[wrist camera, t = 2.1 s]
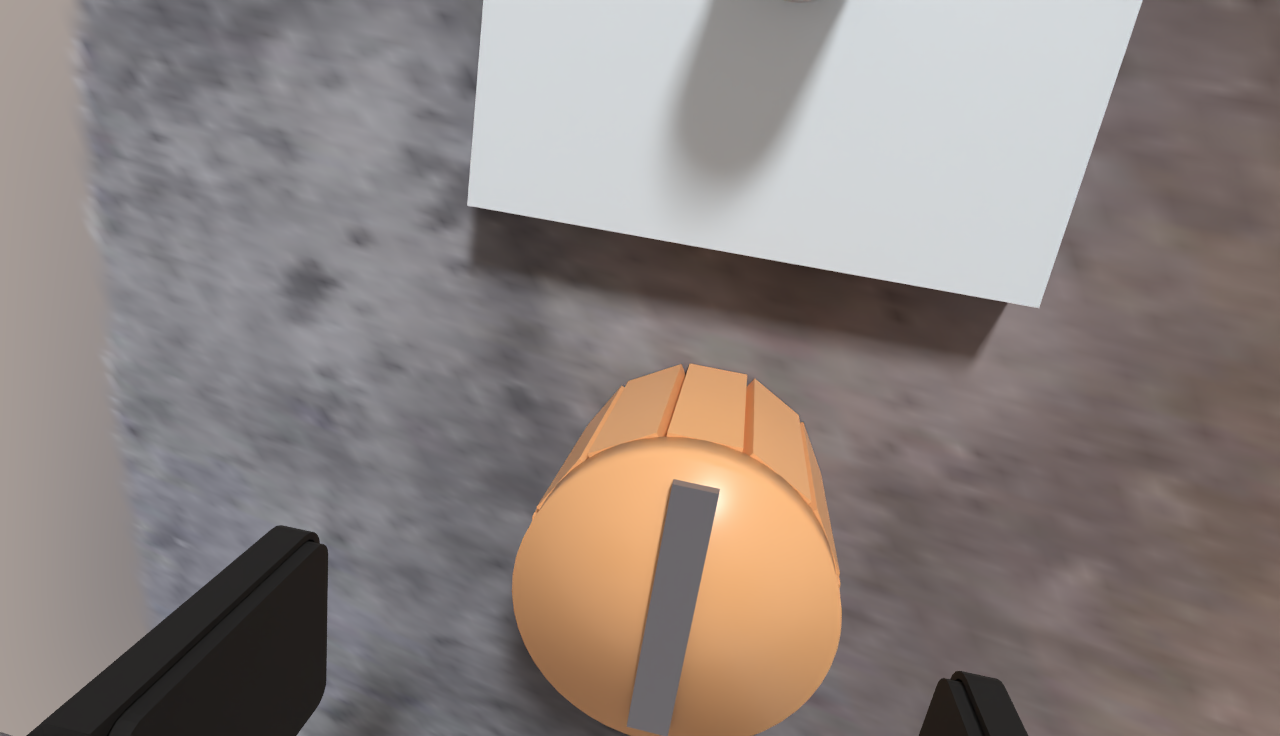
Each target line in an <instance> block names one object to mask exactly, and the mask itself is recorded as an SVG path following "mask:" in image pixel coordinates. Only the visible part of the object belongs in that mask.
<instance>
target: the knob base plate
mask: <svg viewBox="0 0 1280 736" xmlns="http://www.w3.org/2000/svg"><path fill="white" fill-rule="evenodd" d="M1141 3H1142V0H484V1H483V14H482V26H481V39H480V52H479V64H478V77H477V89H476V102H475V115H474V127H473V140H472V152H471V165H470V178H469V190H468V203H467V206H473V207H479V208H484V209H490V210H495V211H501V212H506V213H512V214H518V215H523V216H529V217H534V218H540V219H545V220H551V221H557V222H562V223H568V224H573V225H579V226H584V227H590V228H596V229H601V230H607V231H612V232H618V233H623V234H629V235H635V236H640V237H646V238H651V239H657V240H663V241H668V242H674V243H679V244H685V245H690V246H696V247H702V248H707V249H713V250H718V251H724V252H729V253H735V254H741V255H746V256H752V257H757V258H763V259H768V260H774V261H780V262H785V263H791V264H796V265H802V266H807V267H813V268H819V269H824V270H830V271H835V272H841V273H846V274H852V275H858V276H863V277H869V278H874V279H880V280H886V281H891V282H897V283H902V284H908V285H913V286H919V287H925V288H930V289H936V290H941V291H947V292H952V293H958V294H964V295H969V296H975V297H980V298H986V299H991V300H997V301H1003V302H1008V303H1014V304H1019V305H1025V306H1030V307H1036V308H1039V306H1040V303H1041V300H1042V297H1043V294H1044V291H1045V288H1046V286H1047V283H1048V280H1049V277H1050V274H1051V271H1052V268H1053V265H1054V262H1055V259H1056V256H1057V253H1058V250H1059V247H1060V244H1061V241H1062V238H1063V235H1064V232H1065V229H1066V226H1067V223H1068V220H1069V217H1070V214H1071V211H1072V208H1073V205H1074V202H1075V199H1076V196H1077V193H1078V190H1079V187H1080V185H1081V182H1082V179H1083V176H1084V173H1085V170H1086V167H1087V164H1088V161H1089V158H1090V155H1091V152H1092V149H1093V146H1094V143H1095V140H1096V137H1097V134H1098V131H1099V128H1100V125H1101V122H1102V119H1103V116H1104V113H1105V110H1106V107H1107V104H1108V101H1109V98H1110V95H1111V92H1112V89H1113V87H1114V84H1115V81H1116V78H1117V75H1118V72H1119V69H1120V66H1121V63H1122V60H1123V57H1124V54H1125V51H1126V48H1127V45H1128V42H1129V39H1130V36H1131V33H1132V30H1133V27H1134V24H1135V21H1136V18H1137V15H1138V12H1139V9H1140V6H1141Z"/></svg>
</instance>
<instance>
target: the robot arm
mask: <svg viewBox="0 0 1280 736" xmlns="http://www.w3.org/2000/svg"><path fill="white" fill-rule="evenodd" d="M327 590H328V549H327V547H326V546H325V545H324V544H320V542H319V537H318V535H317V534H316V533H314V532H310V531H305V530H301V529H296V528H291V527H287V526H282V525H281V526H276V527H274V528H273V529H271V530H270V531H269V532H268V533H267V534H265V535H264V536H263V537H262V538H261V539H259V540H258V541H257V542H256V543H255V544H253V545H252V546H251V547H250V548H249V549H248V550H246V551H245V552H244V553H243V554H242V555H240V556H239V557H238V558H237V559H236V560H234V561H233V562H232V563H231V564H230V565H228V566H227V567H226V568H225V569H224V570H223V571H221V572H220V573H219V574H218V575H217V576H215V577H214V578H213V579H212V580H211V581H209V582H208V583H207V584H206V585H205V586H204V587H202V588H201V589H200V590H199V591H198V592H196V593H195V594H194V595H193V596H192V597H190V598H189V599H188V600H187V601H186V602H185V603H183V604H182V605H181V606H180V607H179V608H177V609H176V610H175V611H174V612H173V613H171V614H170V615H169V616H168V617H167V618H165V619H164V620H163V621H162V622H161V623H160V624H158V625H157V626H156V627H155V628H154V629H152V630H151V631H150V632H149V633H148V634H146V635H145V636H144V637H143V638H142V639H141V640H139V641H138V642H137V643H136V644H135V645H134V646H132V647H131V648H130V649H129V650H128V651H126V652H125V653H124V654H123V655H122V656H120V657H119V658H118V659H117V660H116V661H114V662H113V663H112V664H111V665H110V666H109V667H107V668H106V669H105V670H104V671H103V672H101V673H100V674H99V675H98V676H97V677H95V678H94V679H93V680H92V681H91V682H89V683H88V684H87V685H86V686H85V687H83V688H82V689H81V690H80V691H79V692H78V693H76V694H75V695H74V696H73V697H72V698H70V699H69V700H68V701H67V702H66V703H64V704H63V705H62V706H61V707H60V708H59V709H57V710H56V711H55V712H54V713H53V714H51V715H50V716H49V717H48V718H47V719H46V720H44V721H43V722H42V723H41V724H40V725H39V726H37V727H36V728H35V729H34V730H33V731H31V732H30V733H29V734H28V735H27V736H296V735H297V734H298V733H299V731H300V730H301V728H302V727H303V726H304V724H305V723H306V722H307V720H308V719H309V718H310V716H311V715H312V714H313V712H314V711H315V710H316V708H317V706H318V705H319V703H320V701H321V699H322V696H323V694H324V690H325V686H326V658H327ZM0 736H11V735H8V734H5V733H2V732H0ZM919 736H1028V734H1027V732H1026V730H1025V728H1024V726H1023V724H1022V722H1021V720H1020V718H1019V716H1018V713H1017V711H1016V709H1015V707H1014V705H1013V703H1012V701H1011V699H1010V697H1009V695H1008V693H1007V691H1006V688H1005V687H1004V685H1003V684H1002V682H1001V681H1000V680H998V679H995V678H990V677H986V676H981V675H976V674H972V673H967V672H962V671H956V672H955V673H954V674H953V675H952V677H951V679H945V678H943V679H941V680H940V681H939V682H938V684H937V687H936V689H935V692H934V695H933V698H932V700H931V703H930V706H929V709H928V712H927V714H926V717H925V720H924V723H923V726H922V728H921V731H920V734H919Z"/></svg>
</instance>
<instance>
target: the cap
mask: <svg viewBox="0 0 1280 736" xmlns="http://www.w3.org/2000/svg"><path fill="white" fill-rule="evenodd" d="M746 386H747V375H746V374H741V373H736V372H730V371H725V370H720V369H715V368H710V367H705V366H700V365H695V364H689V367H688V370H687V373H686V375H685V372H684V369H683V367H682V364H680V365H677V366H674V367H671V368H667V369H664V370H661V371H658V372H655V373H652V374H649V375H646V376H643V377H640V378H637V379H633V380H630V381H628V383H627V384H626V386H625V387H623V386H621V387H620V388H619V389H618V391H617V392H616V393H615V394H614V395H613V396H612V397H611V399H610V400H609V401H608V402H607V403H606V404H605V406H604V407H603V408H602V409H601V410H600V411H599V412H598V414H597V415H596V416H595V417H594V418H593V419H592V421H591V422H590V423H589V424H588V425H587V427H586V429H585V430H584V432H583V434H582V435H581V437H580V438H579V440H578V442H577V443H576V445H575V446H574V448H573V450H572V451H571V453H570V454H569V456H568V458H567V459H566V461H565V462H564V464H563V466H562V467H561V469H560V470H559V472H558V474H557V475H556V477H555V479H554V480H553V482H552V483H551V485H550V487H549V488H548V490H547V491H546V493H545V495H544V496H543V498H542V499H541V501H540V503H539V504H538V506H537V510H536V511H535V513H534V515H533V518H532V523H531V525H530V526H529V528H528V530H527V532H526V534H525V536H524V537H523V539H522V542H521V545H520V548H519V550H518V553H517V556H516V561H515V566H514V571H513V582H512V597H513V606H514V613H515V617H516V621H517V625H518V629H519V631H520V634H521V636H522V639H523V641H524V644H525V646H526V648H527V650H528V652H529V654H530V655H531V657H532V659H533V661H534V662H535V664H536V665H537V667H538V668H539V669H540V671H541V672H542V674H543V675H544V676H545V678H546V679H547V680H548V681H549V682H550V683H551V684H552V685H553V686H554V688H555V689H556V690H557V691H558V692H559V693H560V694H561V695H563V696H564V697H565V698H566V699H567V700H568V701H569V702H571V703H572V704H573V705H574V706H576V707H577V708H578V709H580V710H581V711H583V712H584V713H586V714H587V715H588V716H590V717H592V718H594V719H595V720H597V721H599V722H601V723H603V724H604V725H606V726H608V727H611V728H613V729H615V730H618V731H620V732H622V733H625V734H627V735H631V736H752V735H755V734H757V733H760V732H763V731H765V730H767V729H769V728H770V727H772V726H774V725H776V724H778V723H780V722H781V721H783V720H784V719H786V718H787V717H788V716H790V715H791V714H793V713H794V712H795V711H797V710H798V709H799V708H800V707H801V706H802V705H803V704H804V703H805V702H806V701H807V700H808V699H809V698H810V697H811V696H812V695H813V693H814V692H815V691H816V689H817V688H818V687H819V686H820V684H821V683H822V681H823V679H824V678H825V676H826V674H827V672H828V671H829V669H830V667H831V664H832V662H833V659H834V656H835V654H836V651H837V648H838V643H839V638H840V633H841V618H842V610H841V601H840V592H839V588H840V579H839V575H840V571H839V566H838V561H837V556H836V550H835V545H834V540H833V535H832V530H831V524H830V519H829V514H828V509H827V503H826V498H825V493H824V488H823V482H822V477H821V472H820V469H819V466H818V464H817V461H816V458H815V455H814V452H813V449H812V446H811V443H810V440H809V437H808V434H807V431H806V428H805V426H804V423H803V422H801V423H800V421H799V415H798V414H797V413H795V412H794V411H793V410H792V409H791V408H789V407H788V406H787V405H786V404H785V403H783V402H782V401H781V400H780V399H779V398H777V397H776V396H775V395H774V394H773V393H771V392H770V391H769V390H768V389H767V388H766V387H764V386H763V385H762V384H761V383H760V382H758V381H757V380H756V379H754V380H753V381H752V382H751V383H750V384H749V385H748V386H747V387H746Z"/></svg>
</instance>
